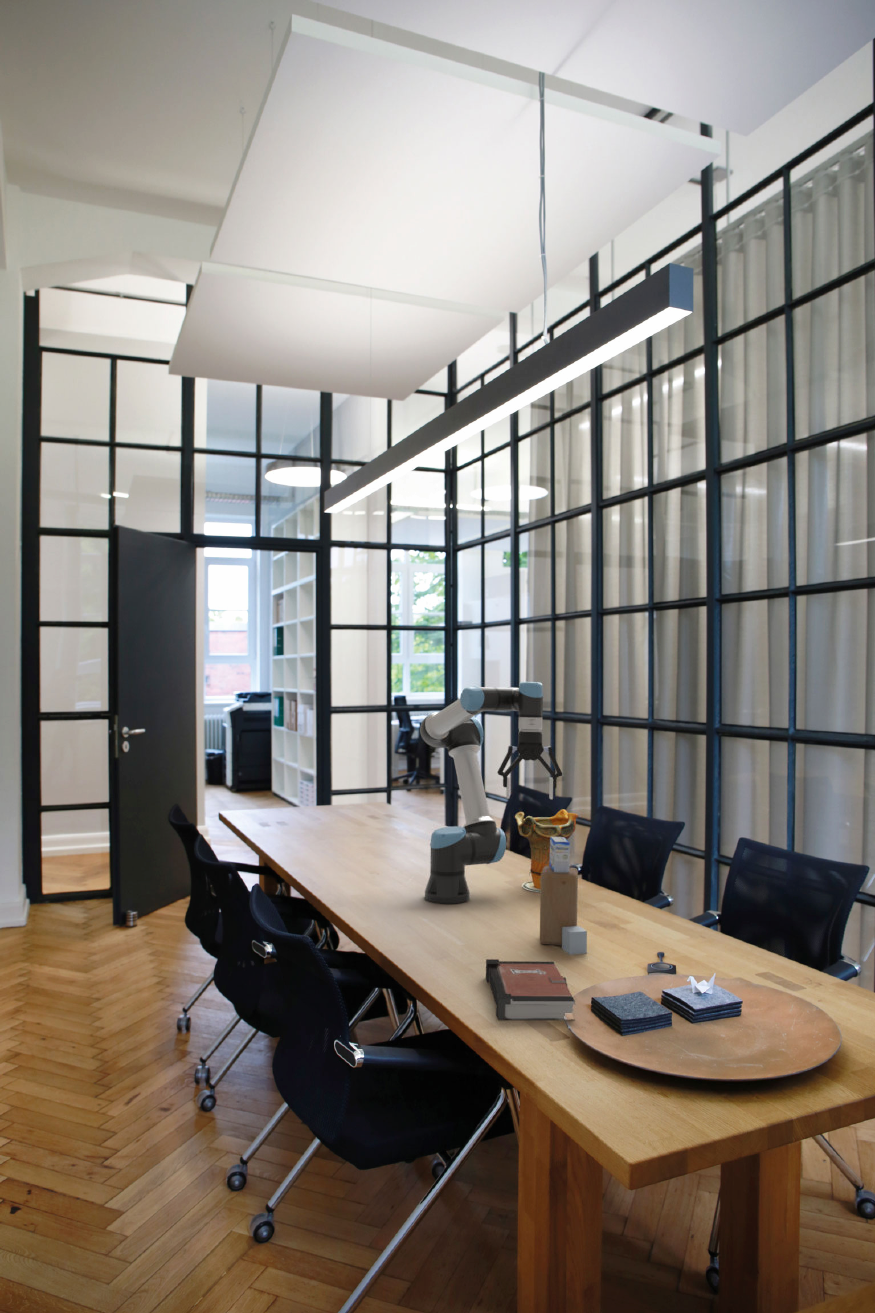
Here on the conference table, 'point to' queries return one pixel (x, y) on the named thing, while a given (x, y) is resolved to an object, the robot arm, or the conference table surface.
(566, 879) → the wooden block
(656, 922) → the conference table surface
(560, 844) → the medicine box
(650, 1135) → the conference table surface
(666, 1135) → the conference table surface
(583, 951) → the slate block
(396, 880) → the conference table surface
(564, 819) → the decorative vase
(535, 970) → the book
